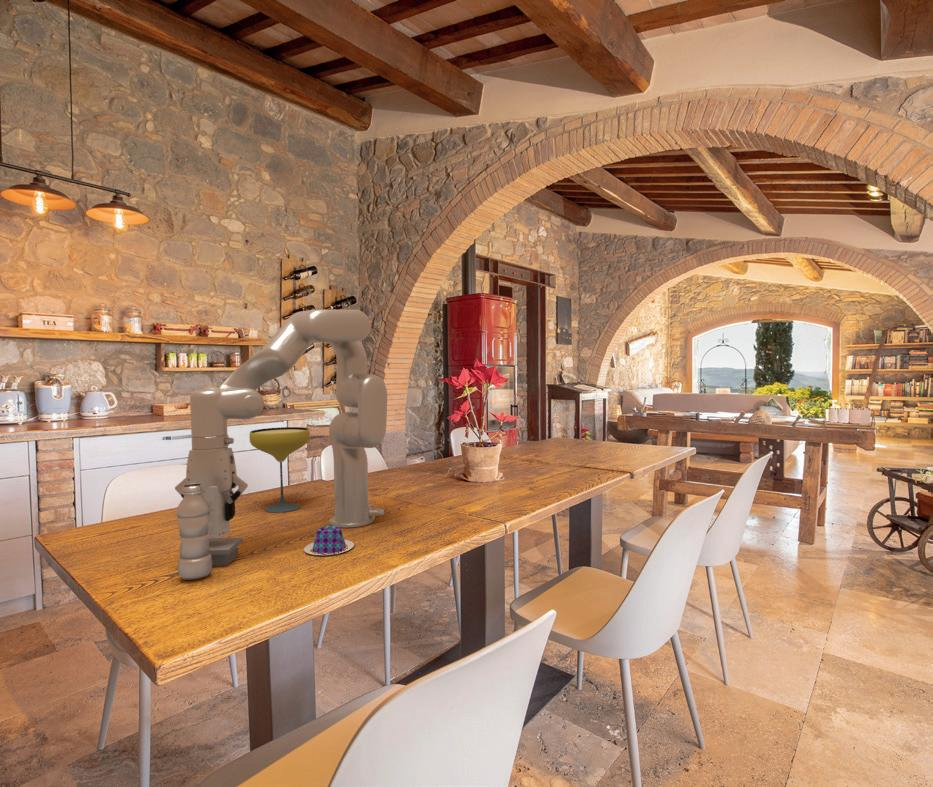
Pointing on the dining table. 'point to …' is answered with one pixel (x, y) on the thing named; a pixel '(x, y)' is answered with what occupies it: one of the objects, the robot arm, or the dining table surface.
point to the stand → (223, 550)
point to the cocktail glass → (280, 452)
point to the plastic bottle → (194, 533)
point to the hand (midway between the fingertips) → (212, 519)
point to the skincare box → (216, 513)
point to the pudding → (328, 541)
